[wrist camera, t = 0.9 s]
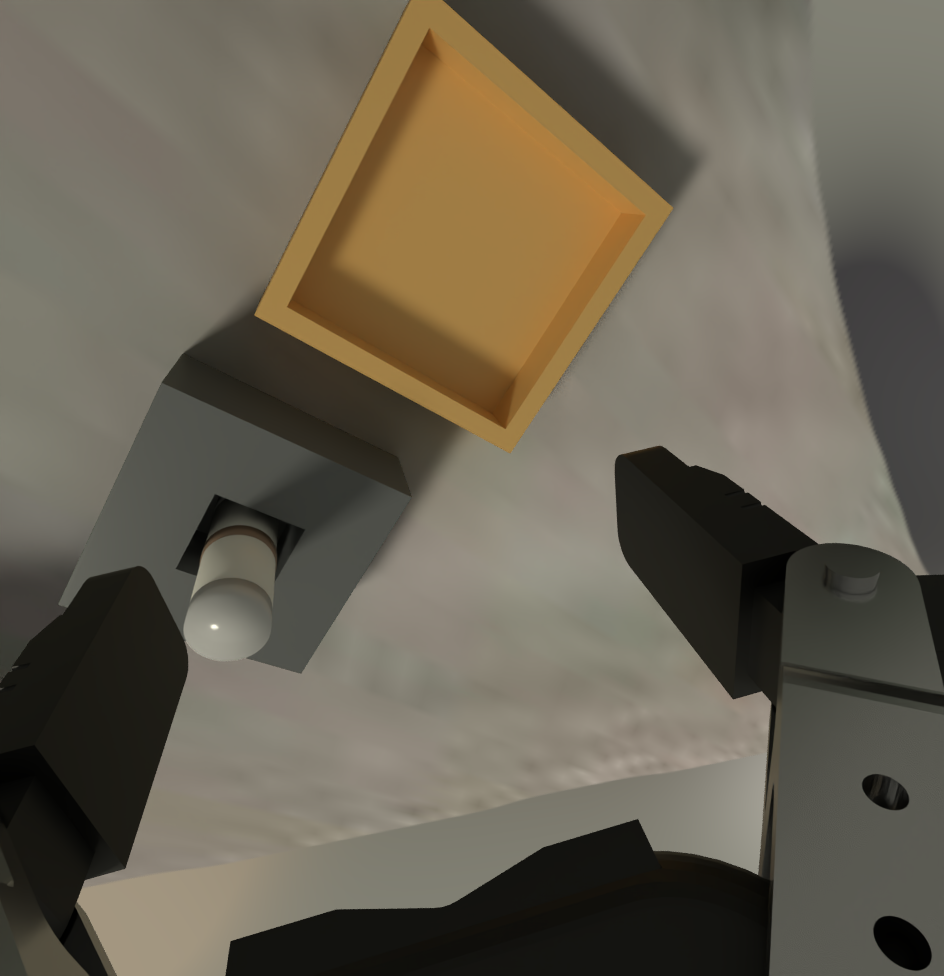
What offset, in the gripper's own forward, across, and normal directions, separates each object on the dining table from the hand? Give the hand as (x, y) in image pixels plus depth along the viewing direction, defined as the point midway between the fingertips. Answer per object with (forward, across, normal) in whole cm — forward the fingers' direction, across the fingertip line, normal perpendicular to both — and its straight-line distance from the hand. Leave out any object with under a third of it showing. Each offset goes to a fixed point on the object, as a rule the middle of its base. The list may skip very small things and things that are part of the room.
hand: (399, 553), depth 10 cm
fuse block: (+22, +8, +8) cm, 25 cm away
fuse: (+21, +8, +8) cm, 24 cm away
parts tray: (+23, -5, -2) cm, 23 cm away
